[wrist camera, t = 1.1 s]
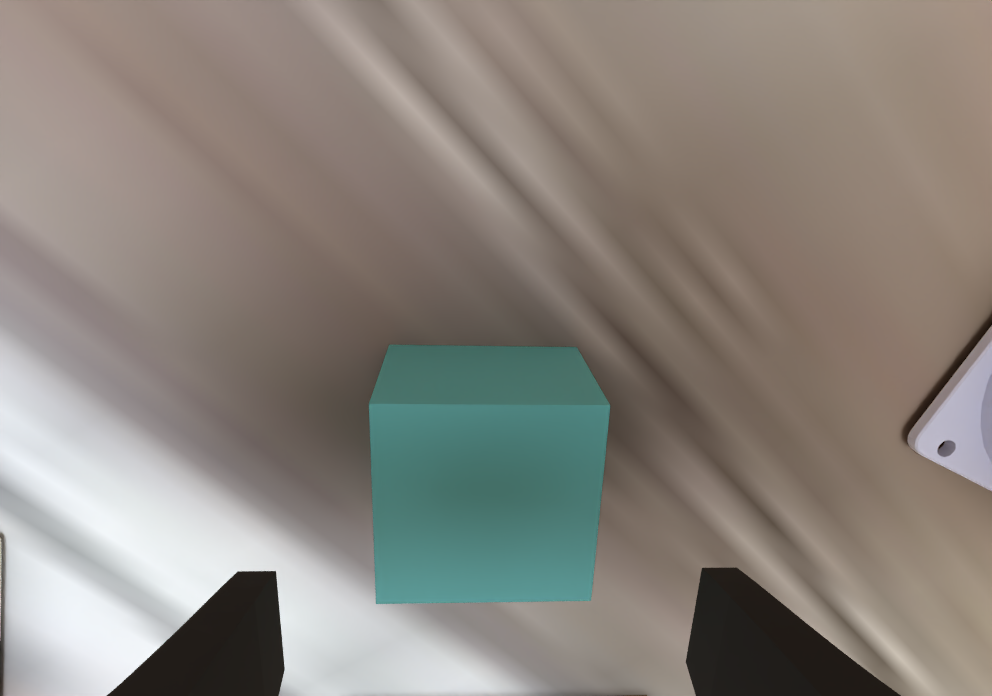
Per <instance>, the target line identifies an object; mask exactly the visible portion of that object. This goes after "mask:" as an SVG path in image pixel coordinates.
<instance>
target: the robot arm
mask: <svg viewBox="0 0 992 696" xmlns="http://www.w3.org/2000/svg"><path fill="white" fill-rule="evenodd" d="M944 441H945V443H944V445H943V446H942V447H941V448H940V449H938V447H939V445H940V444H941V443H942V442H944ZM907 442H908V444H909V447H910V448H912V449H913V450H914V451H915V452H917V453H918V454H920V455H921V456H923V457H925V458H927V459H929V460H931V461H933V462H935V463H937V464H939V465H941V466H943V467H945V468H947V469H949V470H951V471H953V472H955V473H957V474H959V475H961V476H963V477H965V478H967V479H969V480H970V481H972V482H974V483H976V484H978V485H980V486H982V487H984V488H986V489H988V490H990V491H992V326H991V327H990V328H989V329H988V331H987V332H986V333H985V335H984V336H983V337H982V339H981V340H980V341H979V342H978V344H977V345H976V346H975V348H974V349H973V350H972V351H971V353H970V354H969V355H968V357H967V358H966V359H965V361H964V362H963V363H962V364H961V366H960V367H959V368H958V370H957V371H956V372H955V374H954V375H953V376H952V377H951V379H950V380H949V381H948V383H947V384H946V385H945V386H944V388H943V389H942V390H941V392H940V393H939V394H938V396H937V397H936V398H935V399H934V401H933V402H932V403H931V405H930V406H929V407H928V408H927V410H926V411H925V412H924V414H923V415H922V416H921V418H920V419H919V420H918V421H917V423H916V424H915V425H914V427H913V428H912V429H911V431H910V433H909V435H908V441H907ZM937 449H938V450H937ZM686 664H687V667H688V671H689V674H690V677H691V681H692V684H693V687H694V691H695V694H696V696H901V695H899V694H898V693H896V692H895V691H894V690H892V689H891V688H889V687H888V686H887V685H885V684H884V683H883V682H881V681H880V680H878V679H877V678H876V677H874V676H873V675H872V674H871V673H869V672H868V671H867V670H865V669H864V668H863V667H861V666H860V665H859V664H857V663H856V662H855V661H853V660H852V659H851V658H849V657H848V656H847V655H846V654H844V653H843V652H842V651H840V650H839V649H838V648H837V647H835V646H834V645H833V644H832V643H830V642H829V641H828V640H827V639H825V638H824V637H823V636H821V635H820V634H819V633H818V632H817V631H815V630H814V629H813V628H812V627H810V626H809V625H808V624H807V623H805V622H804V621H803V620H802V619H800V618H799V617H798V616H797V615H795V614H794V613H793V612H792V611H791V610H789V609H788V608H787V607H786V606H784V605H783V604H782V603H781V602H779V601H778V600H777V599H776V598H775V597H773V596H772V595H771V594H770V593H768V592H767V591H766V590H765V589H763V588H762V587H761V586H760V585H758V584H757V583H756V582H755V581H753V580H752V579H751V578H750V577H748V576H747V575H746V574H744V573H743V572H742V571H740V570H739V569H738V568H702V571H701V577H700V583H699V589H698V595H697V600H696V606H695V612H694V618H693V623H692V629H691V635H690V641H689V647H688V652H687V658H686ZM283 674H284V658H283V647H282V635H281V624H280V613H279V601H278V590H277V579H276V571H248V572H237V573H236V574H235V575H234V576H233V577H232V578H230V579H229V580H228V581H227V582H226V583H225V584H224V585H223V586H222V587H221V588H220V589H219V590H218V591H217V592H216V593H215V594H214V595H213V596H212V597H211V598H210V599H209V600H208V601H207V602H206V603H205V604H204V605H203V606H202V607H201V608H200V609H199V610H198V611H197V612H196V613H195V614H194V615H193V616H192V617H191V618H190V619H189V620H188V621H187V622H186V623H185V624H184V625H182V626H181V627H180V628H179V629H178V630H177V631H176V632H175V633H174V634H173V635H172V636H171V637H170V638H169V639H168V640H167V641H166V642H165V643H164V644H163V645H162V646H161V647H160V648H158V649H157V650H156V651H155V652H154V653H153V654H152V655H151V656H150V657H149V658H148V659H147V660H146V661H145V662H144V663H143V664H141V665H140V666H139V667H138V668H137V669H136V670H135V671H134V672H133V673H132V674H131V675H130V676H129V677H128V678H126V679H125V680H124V681H123V682H122V683H121V684H120V685H119V686H117V687H116V688H115V689H114V690H113V691H112V692H111V693H109V694H108V695H107V696H278V695H279V691H280V687H281V682H282V678H283Z"/></svg>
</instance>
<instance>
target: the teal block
mask: <svg viewBox="0 0 992 696" xmlns="http://www.w3.org/2000/svg"><path fill="white" fill-rule="evenodd" d="M609 414H610V404H609V402H608V400H607V399H606V397H605V395H604V394H603V392H602V390H601V388H600V387H599V385H598V383H597V381H596V380H595V378H594V376H593V375H592V373H591V371H590V369H589V368H588V366H587V364H586V362H585V361H584V359H583V357H582V355H581V354H580V352H579V350H578V349H577V347H530V346H453V345H389V347H388V350H387V353H386V356H385V358H384V361H383V364H382V367H381V370H380V373H379V376H378V379H377V382H376V385H375V388H374V390H373V393H372V396H371V399H370V402H369V421H370V449H371V477H372V504H373V532H374V560H375V587H376V604H401V603H469V602H538V601H591V595H592V585H593V575H594V565H595V555H596V545H597V535H598V525H599V515H600V505H601V494H602V484H603V474H604V464H605V454H606V444H607V434H608V424H609Z"/></svg>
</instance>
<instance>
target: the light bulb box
mask: <svg viewBox="0 0 992 696" xmlns="http://www.w3.org/2000/svg"><path fill="white" fill-rule="evenodd" d="M1 558H2V543H1V538H0V639H1Z"/></svg>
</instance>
